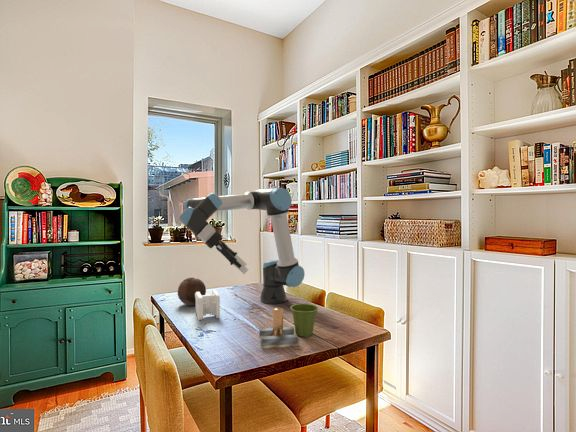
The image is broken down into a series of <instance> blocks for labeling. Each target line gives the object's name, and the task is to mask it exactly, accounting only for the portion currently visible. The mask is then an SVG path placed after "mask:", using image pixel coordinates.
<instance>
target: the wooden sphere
mask: <svg viewBox="0 0 576 432" xmlns="http://www.w3.org/2000/svg"><path fill="white" fill-rule="evenodd" d="M196 292H200V294H201V296H202V295H207V288H206V285H205V283H204V282H203V280H201V279H200V278H198V277H188V278H186V279H184V280H182V281H181V282H180V283H179V285H178V288H177V296H178V299H179V300H180V302H181V303H182V304H184V305H187V306H196V298H195V293H196Z"/></svg>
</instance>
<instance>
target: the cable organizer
mask: <svg viewBox="0 0 576 432" xmlns="http://www.w3.org/2000/svg"><path fill="white" fill-rule="evenodd" d="M195 298H196V305H195V314H196V316H197V319H198V320H199V321H202V320H204V317H206V316H207V315H210V314H211V315H212V316H213V315H214V316H215V318H216V319H218V318H221V310H220V309H221V296H220V293H219V292H218V291H217V289H212V292H211V294H205V295H202V296H201V294H200V292H196V293H195Z"/></svg>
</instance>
